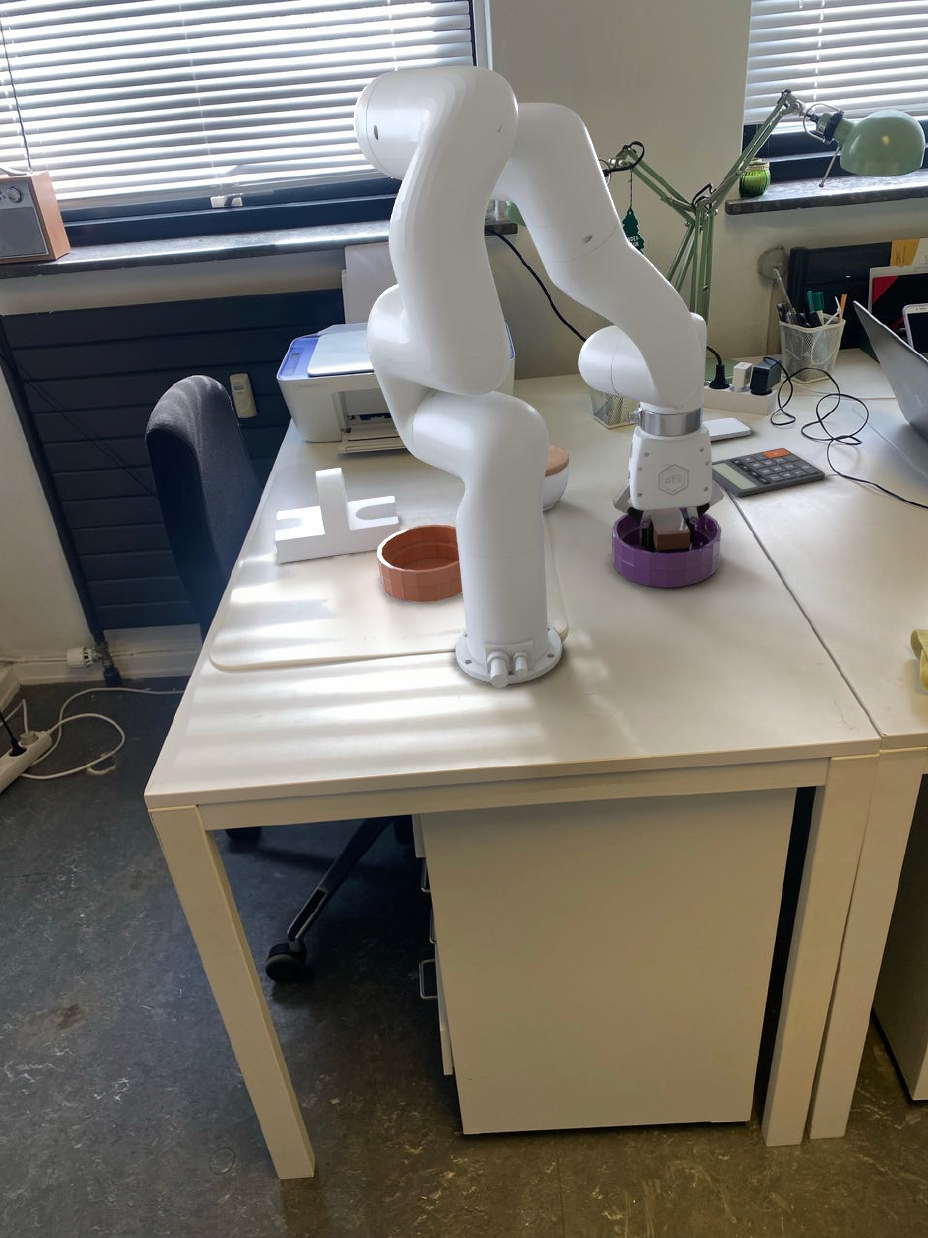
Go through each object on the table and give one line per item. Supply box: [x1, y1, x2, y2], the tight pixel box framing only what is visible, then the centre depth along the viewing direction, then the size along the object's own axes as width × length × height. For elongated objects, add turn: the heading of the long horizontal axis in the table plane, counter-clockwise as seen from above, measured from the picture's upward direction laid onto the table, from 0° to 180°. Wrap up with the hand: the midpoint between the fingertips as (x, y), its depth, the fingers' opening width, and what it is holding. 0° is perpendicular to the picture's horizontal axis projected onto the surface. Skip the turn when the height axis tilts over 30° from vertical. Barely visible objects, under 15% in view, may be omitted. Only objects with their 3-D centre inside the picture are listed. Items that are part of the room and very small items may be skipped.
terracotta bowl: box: [376, 524, 463, 603], centre depth 122 cm, size 13×13×5 cm
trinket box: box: [543, 444, 570, 512], centre depth 138 cm, size 11×11×9 cm
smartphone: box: [702, 416, 752, 442], centre depth 157 cm, size 7×1×15 cm
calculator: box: [712, 447, 826, 498], centre depth 142 cm, size 12×1×15 cm
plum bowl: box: [611, 508, 723, 588], centre depth 120 cm, size 14×14×5 cm
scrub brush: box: [651, 508, 690, 553], centre depth 120 cm, size 9×4×5 cm, turn 0°
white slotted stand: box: [274, 467, 401, 564], centre depth 133 cm, size 18×10×11 cm, turn 98°
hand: (666, 546), depth 121 cm, fingers closed on scrub brush, 4 cm apart
